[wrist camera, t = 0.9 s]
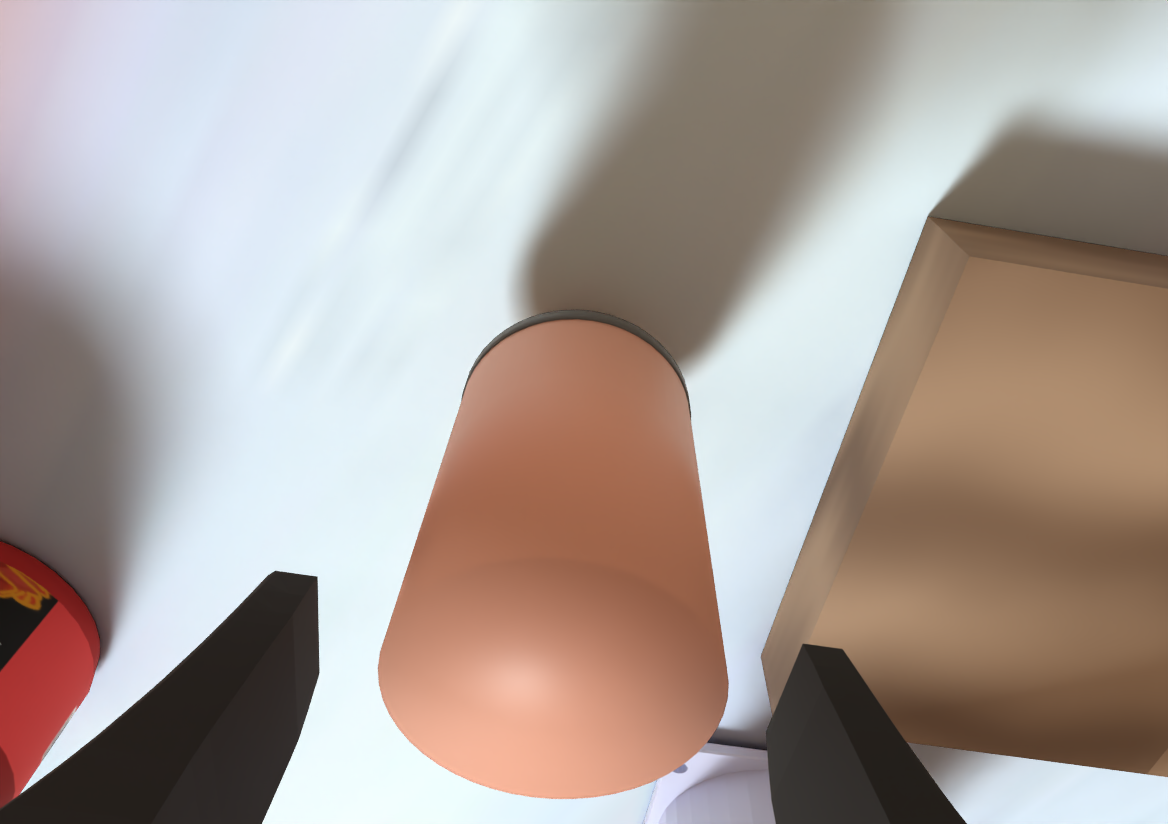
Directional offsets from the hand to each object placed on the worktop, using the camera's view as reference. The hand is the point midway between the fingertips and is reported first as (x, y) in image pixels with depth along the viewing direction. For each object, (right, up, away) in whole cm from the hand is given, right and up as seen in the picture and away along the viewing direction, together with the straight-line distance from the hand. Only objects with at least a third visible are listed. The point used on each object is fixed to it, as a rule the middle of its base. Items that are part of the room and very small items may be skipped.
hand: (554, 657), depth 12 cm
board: (+17, +1, +10) cm, 20 cm away
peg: (0, +5, +8) cm, 9 cm away
